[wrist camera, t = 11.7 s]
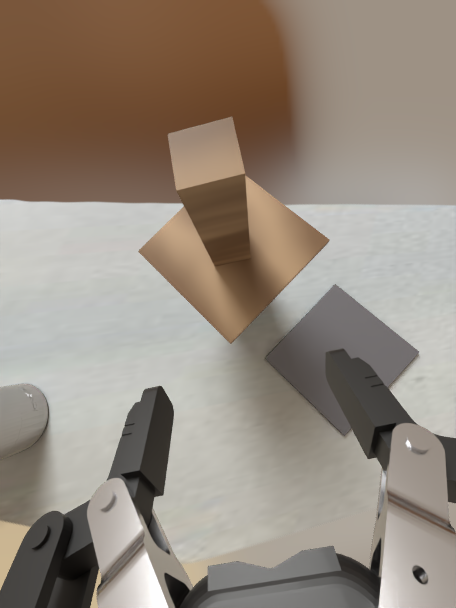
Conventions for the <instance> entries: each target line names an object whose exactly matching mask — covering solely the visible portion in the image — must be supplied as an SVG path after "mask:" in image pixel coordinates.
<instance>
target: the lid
mask: <svg viewBox="0 0 456 608" xmlns="http://www.w3.org/2000/svg"><path fill="white" fill-rule="evenodd" d="M168 139H169V146H170V152H171V159H172V164H173V172H174V178H175V185H176V191H177V193H178V195H179V197H180V199H181V201H182V203H183V205H184V207H183V208H182V209H181V210H180V211H179V212H178V213H177V214H176V215H175V216H174V217H173V218H172V219H171V220H170V221H168V222H167V223H166V224H165V225H164V226H163V227H162V228H161V229H160V230H159V231H158V232H157V233H156V234H155V235H154V236H153V237H152V238H151V239H150V240H149V241H148V242H147V243H146V244H145V245H144V246H143V247H142V248H141V249H140V250H139V251H138V252H139V253H140V254H141V255H142V256H143V257H144V258H145V259H146V260H147V261H148V262H149V263H150V264H151V265H152V266H153V267H154V268H155V269H156V270H157V271H158V272H159V273H160V274H161V275H162V276H163V277H164V278H165V279H166V280H167V281H168V282H169V283H170V284H171V285H172V286H173V287H174V288H175V289H176V290H177V291H178V292H179V293H180V294H181V295H182V296H183V297H184V298H185V299H186V300H187V301H188V302H189V303H190V304H191V305H192V306H193V307H194V308H195V309H196V310H197V311H198V312H199V313H200V314H201V315H202V316H203V317H204V318H205V319H206V320H207V321H208V322H209V323H210V324H211V325H212V326H213V327H214V328H215V329H216V330H217V331H218V332H219V333H220V334H221V335H222V336H223V337H224V338H225V339H226V340H227V341H228V342H229V343H232V342H233V341H234V340H235V339H236V338H237V337H238V336H239V335H240V334H241V333H242V332H243V331H244V330H245V329H246V328H247V327H248V326H249V325H250V324H251V322H252V321H253V320H254V319H255V318H256V317H257V316H258V315H259V314H260V313H261V312H262V311H263V310H264V309H265V308H266V307H267V306H268V305H269V304H270V303H271V302H272V301H273V300H274V299H275V298H276V296H277V295H278V294H279V293H280V292H281V291H282V290H283V289H284V288H285V287H286V286H287V285H288V284H289V283H290V282H291V281H292V280H293V279H294V278H295V277H296V276H297V275H298V274H299V273H300V271H301V270H302V269H303V268H304V267H305V266H306V265H307V264H308V263H309V262H310V261H311V260H312V259H313V258H314V257H315V256H316V255H317V254H318V253H319V252H320V251H321V250H322V249H323V248H324V247H325V245H326V244H327V243H328V242H329V239H328V238H327V237H325V236H324V235H323V234H321V233H320V232H319V231H317V230H316V229H315V228H313V227H312V226H311V225H309V224H308V223H307V222H306V221H304V220H303V219H302V218H300V217H299V216H298V215H296V214H295V213H294V212H292V211H291V210H290V209H289V208H287V207H286V206H285V205H283V204H282V203H281V202H279V201H278V200H277V199H275V198H274V197H273V196H271V195H270V194H269V193H267V192H266V191H265V190H264V189H262V188H261V187H260V186H258V185H257V184H256V183H254V182H253V181H252V180H250V179H249V178H248V177H247V176H245V171H244V166H243V162H242V158H241V154H240V149H239V145H238V141H237V136H236V132H235V127H234V123H233V119H232V117H229V118H225V119H222V120H218V121H214V122H210V123H207V124H203V125H199V126H196V127H192V128H188V129H184V130H181V131H177V132H174V133H170V134H168Z"/></svg>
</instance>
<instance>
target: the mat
mask: <svg viewBox="0 0 456 608" xmlns="http://www.w3.org/2000/svg"><path fill="white" fill-rule="evenodd" d="M341 348H343V349H345V351H346V352H347V353H348V355H349V356H350V358H351V359H352V358H357V357H359V358H360V359H362V360H363V361H365V362H366V363H368V364H369V365H370V366H371V367H372V368H373V370H374V371H375V372H376V374H377V375H378V377H380V379H381V380H382V381H383V383H384V385H386V387H387V388H388V386H389V385H390V384H391V383H392V382H393V381H394V380H395V379H396V378H397V376H398V375H399V374H400V373H401V372H402V371H403V370H404V369H405V367H406V366H407V365H408V364H409V363H410V362H411V361H412V360H413V359H414V357H415V356H416V355H417V354H418V353H419V351H417V350H416V349H415V348H414V347H413V346H411V345H410V344H409V343H408V342H406V341H405V340H404V339H403V338H401V337H400V336H399V335H398V334H396V333H395V332H394V331H393V330H391V329H390V328H389V327H388V326H387V325H385V324H384V323H383V322H382V321H380V320H379V319H378V318H377V317H375V316H374V315H373V314H372V313H370V312H369V311H368V310H367V309H365V308H364V307H363V306H362V305H361V304H359V303H358V302H357V301H356V300H354V299H353V298H352V297H351V296H349V295H348V294H347V293H346V292H344V291H343V290H342V289H341V288H339V287H338V286H337V285H336V284H335V285H334V286H333V287H332V288H331V289H330V290H329V291H328V292H327V293H326V294H325V295H324V296H323V297H322V298H321V300H320V301H319V302H318V303H317V304H316V305H315V306H314V307H313V308H312V309H311V310H310V311H309V312H308V313H307V314H306V315H305V317H304V318H303V319H302V320H301V321H300V322H299V323H298V324H297V325H296V326H295V327H294V328H293V329H292V330H291V331H290V332H289V333H288V335H287V336H286V337H285V338H284V339H283V340H282V341H281V342H280V343H279V344H278V345H277V346H276V347H275V348H274V349H273V350H272V351H271V353H270V354H269V355H268V356H267V357H266V358H265V359H266V360H267V361H268V362H269V363H270V364H271V365H272V366H273V367H274V368H275V369H276V370H277V371H278V372H279V373H281V374H282V375H283V376H284V377H285V378H286V379H287V380H288V381H289V382H290V383H291V384H292V385H293V386H294V387H295V388H296V389H297V390H298V391H299V392H300V393H301V394H302V395H303V396H304V397H305V398H306V399H307V400H308V401H309V402H310V403H311V404H312V405H313V406H314V407H315V408H316V409H318V410H319V411H320V412H321V413H322V414H323V415H324V416H325V417H326V418H327V419H328V420H329V421H330V422H331V423H332V424H333V425H334V426H335V427H336V428H337V429H338V430H339V431H340V432H341V433H342V434H343V435H344V436H345V435H346V433H347V432H348V431H349V430H350V429H351V426H350V424H349V422H348V420H347V419H346V417H345V415H344V413H343V411H342V409H341V407H340V405H339V403H338V402H337V400H336V398H335V396H334V394H333V392H332V390H331V388H330V386H329V384H328V382H327V379H326V374H325V359H326V352H327V351H331V350H336V349H341Z"/></svg>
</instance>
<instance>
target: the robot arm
mask: <svg viewBox="0 0 456 608" xmlns="http://www.w3.org/2000/svg"><path fill="white" fill-rule="evenodd" d="M325 374H326V379H327V382H328V384H329V386H330V388H331V390H332V392H333V394H334V396H335V398H336V400H337V402H338V403H339V405H340V407H341V409H342V411H343V413H344V415H345V417H346V419H347V420H348V422H349V424H350V426H351V428H352V430H353V432H354V434H355V436H356V437H357V439H358V441H359V443H360V445H361V447H362V449H363V451H364V453H365V455H366V456H367V458H368V459H371V458H377V459H378V461H379V463H380V464H381V466H382V470H381V479H380V488H379V496H378V505H377V514H376V523H375V528H374V534H373V539H372V546H371V555H370V563H369V569H368V568H367V567H365V566H364V565H362V564H361V563H359V562H358V561H356V560H354V559H352V558H350V557H347V556H344V555H341V554H337V553H335V549H334V546H328V547H323V548H316V549H310V550H304V551H301V552H299V553H297V554H296V555H294V556H292V557H291V558H289V559H288V560H286V561H284V562H282V563H281V564H279V565H278V566H276V567H274V568H265V567H261V566H256V565H252V564H247V563H243V562H239V561H236V562H230V563H224V564H218V565H212V566H208V575H207V576H205V577H204V578H203V579H202V580H201V581H199V582H198V583H197V584H196V585H195V586H194V587H193V586H192V584H191V582H190V579H189V577H188V575H187V573H186V572H185V570H184V568H183V566H182V565H181V563H180V562H179V561H178V559H177V558H176V556H175V554H174V552H173V550H172V548H171V546H170V544H169V542H168V539H167V537H166V535H165V533H164V531H163V529H162V527H161V524H160V522H159V520H158V518H157V516H156V514H155V511H154V509H153V508H152V507H153V501H154V497H157V496H162V495H163V494H164V486H165V479H166V471H167V464H168V456H169V449H170V441H171V433H172V426H173V418H174V410H173V405H172V403H171V401H170V399H169V398H168V396H167V394H166V393H165V391H164V389H163V388H162V386H157V387H152V388H148V389H145V390H144V391H143V394H142V398H141V402H137V403H135V404H134V406H133V407H132V409H131V410H130V412H129V413H128V416H127V419H126V422H125V427H124V429H123V432H122V437H121V438H120V442H119V445H118V448H117V451H116V455H115V458H114V461H113V464H112V467H111V471H110V474H109V476H108V479H107V481H106V482H104V483H103V484H102V485H101V486H100V487H99V488H98V489H97V490H96V491H95V493H94V494H93V496H92V498H91V499H90V500H89V501H87V502H86V503H84V504H82V505H80V506H79V507H77V508H75V509H73V510H72V511H70V512H68V513H66V514H65V515H64V514H62V513H60V512H58V511H52V512H49V513H47V514H45V515H43V516H42V517H41V518H40V519H38V520H37V521H36V522H35V523H34V524H33V526H32V527H31V528H30V529H29V531H28V532H27V534H26V535H25V537H24V539H23V541H22V543H21V545H20V548H19V550H18V552H17V554H16V557H15V559H14V561H13V563H12V566H11V568H10V570H9V572H8V574H7V577H6V579H5V581H4V584H3V586H2V588H1V590H0V608H90V605H91V601H92V596H93V592H94V588H95V583H96V579H97V574H98V570H99V569H100V573H101V584H100V585H99V586H98V588H97V603H98V608H456V533H455V530H454V528H453V527H452V526H451V524H450V521H449V509H448V502H452V503H456V438H450V437H443V436H439V435H436V434H433V433H431V432H430V431H429V430H427V429H425V428H423V427H421V426H419V425H418V424H416V423H415V422H414V421H413V420H412V419H411V417H410V416H409V415H408V414H407V412H406V411H405V410H404V408H403V407H402V406H401V405H400V403H399V402H398V401H397V399H396V398H395V397H394V396H393V394H392V393H391V392H390V390H389V389H388V388H387V387H386V385H384V383H383V381H382V380H381V379H380V377H378V375H377V374H376V372H375V371H374V370H373V368H372V367H371V366H370V365H369V364H368V363H366V362H365V361H363V360H362V359H360V358H359V357H357V358H352V359H351V358H350V356H349V355H348V353H347V352H346V351H345V349H343V348H341V349H336V350H331V351H327V352H326V359H325ZM47 419H48V406H47V402H46V399H45V397H44V395H43V394H42V392H41V391H40V390H39V389H38V388H36V387H35V386H32V385H29V384H18V385H11V386H4V387H0V460H2V459H4V458H6V457H9V456H11V455H13V454H16V453H18V452H20V451H23V450H25V449H27V448H29V447H30V446H32V445H33V444H34V443H35V442H36V441H37V440H38V439H39V438H40V436H41V435H42V433H43V431H44V429H45V427H46V423H47Z"/></svg>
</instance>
